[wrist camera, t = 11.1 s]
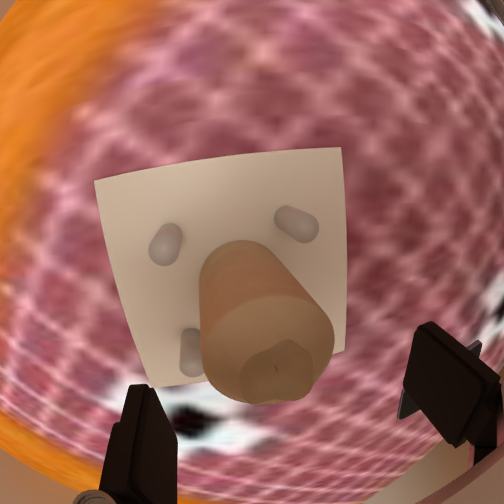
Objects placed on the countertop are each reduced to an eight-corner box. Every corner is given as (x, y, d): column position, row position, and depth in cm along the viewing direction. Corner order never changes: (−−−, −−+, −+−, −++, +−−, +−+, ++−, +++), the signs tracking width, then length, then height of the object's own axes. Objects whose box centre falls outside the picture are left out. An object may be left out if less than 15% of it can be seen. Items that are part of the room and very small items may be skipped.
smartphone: (403, 388, 28) (483, 339, 29) (399, 382, 29) (479, 336, 30) (397, 422, 30) (473, 375, 31) (393, 417, 31) (469, 372, 32)
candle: (297, 279, 20) (372, 366, 10) (237, 331, 20) (269, 442, 11) (244, 221, 18) (295, 279, 9) (181, 279, 18) (170, 383, 9)
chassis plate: (331, 148, 19) (368, 144, 15) (337, 341, 24) (363, 374, 19) (101, 179, 17) (71, 184, 12) (154, 376, 22) (148, 418, 17)
